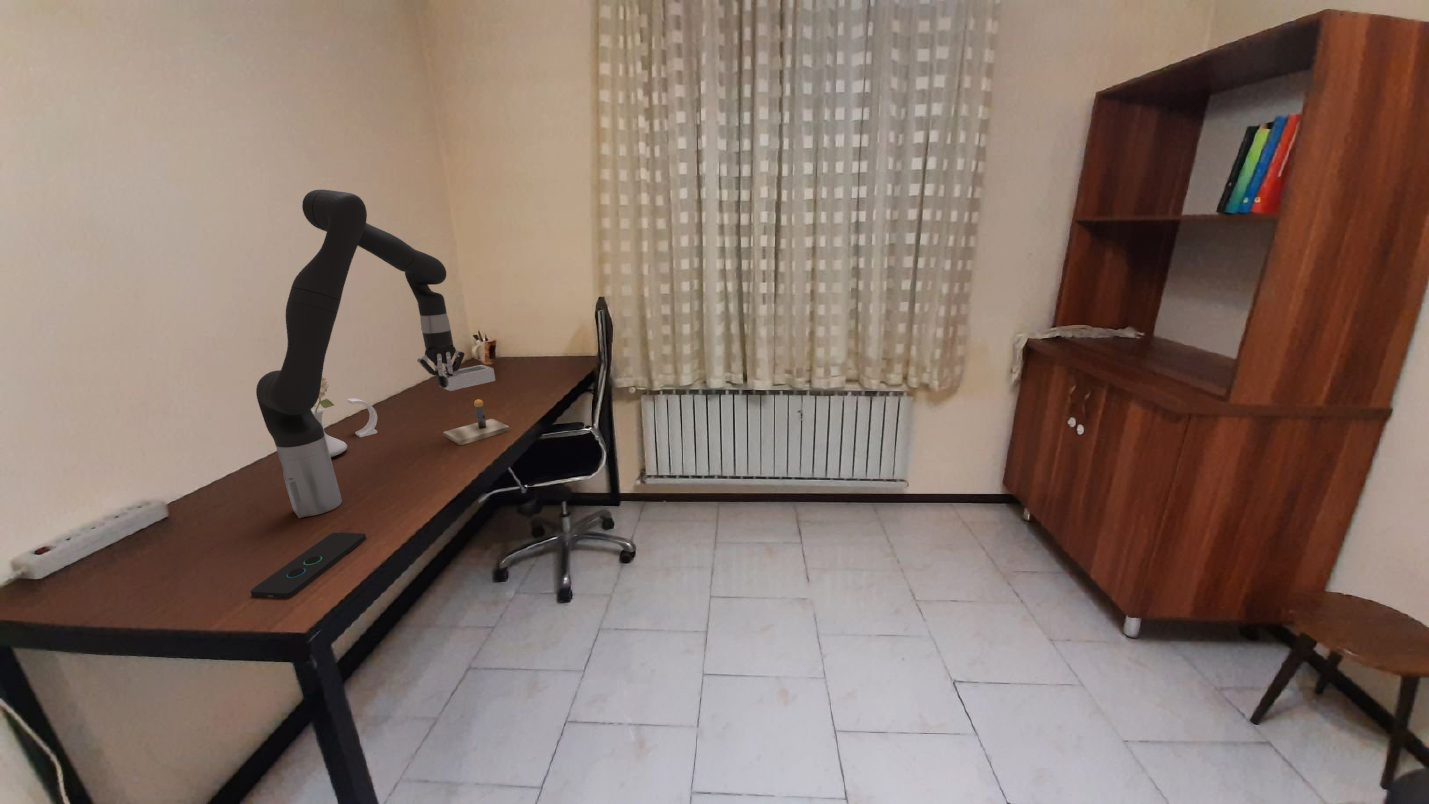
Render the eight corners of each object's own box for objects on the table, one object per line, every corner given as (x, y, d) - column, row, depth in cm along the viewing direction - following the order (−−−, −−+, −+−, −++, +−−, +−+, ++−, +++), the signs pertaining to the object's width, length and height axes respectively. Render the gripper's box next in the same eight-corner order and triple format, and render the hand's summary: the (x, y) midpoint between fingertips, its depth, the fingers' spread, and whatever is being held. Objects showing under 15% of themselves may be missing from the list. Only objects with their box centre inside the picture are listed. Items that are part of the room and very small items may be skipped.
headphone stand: (355, 434, 179) (346, 399, 175) (376, 429, 183) (368, 394, 180) (360, 437, 176) (351, 401, 172) (381, 432, 180) (372, 397, 177)
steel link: (450, 391, 164) (447, 378, 162) (439, 386, 169) (436, 373, 168) (495, 380, 173) (493, 368, 172) (483, 376, 178) (481, 364, 177)
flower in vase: (292, 462, 158) (267, 378, 151) (327, 447, 169) (306, 367, 161) (328, 465, 155) (306, 379, 148) (362, 449, 166) (342, 369, 158)
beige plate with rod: (460, 445, 167) (453, 411, 164) (444, 436, 175) (437, 403, 171) (509, 430, 178) (504, 398, 175) (492, 422, 186) (487, 391, 182)
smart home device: (247, 591, 99) (331, 531, 118) (249, 599, 100) (333, 538, 119) (289, 593, 98) (367, 532, 117) (291, 601, 99) (369, 540, 118)
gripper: (416, 334, 154) (428, 394, 159) (465, 327, 163) (474, 383, 169) (406, 331, 159) (418, 389, 164) (454, 324, 168) (464, 379, 174)
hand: (447, 386), depth 167 cm, fingers closed on steel link, 1 cm apart
